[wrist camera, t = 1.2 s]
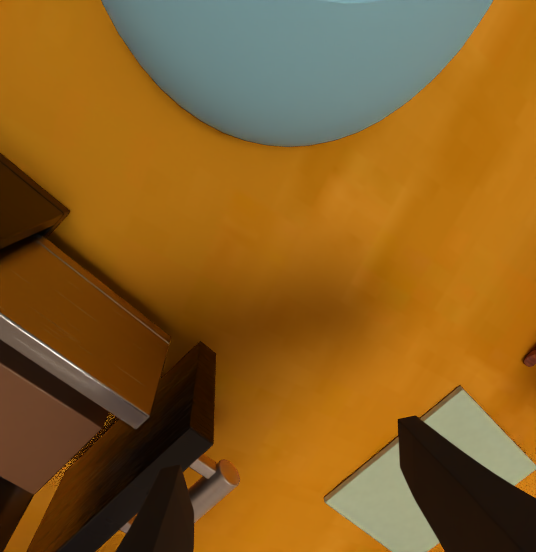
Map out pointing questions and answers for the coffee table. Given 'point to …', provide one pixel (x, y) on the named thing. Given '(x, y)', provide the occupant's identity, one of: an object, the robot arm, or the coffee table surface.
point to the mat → (394, 489)
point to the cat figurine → (530, 358)
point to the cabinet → (25, 206)
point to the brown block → (40, 421)
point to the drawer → (106, 399)
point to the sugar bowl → (293, 59)
